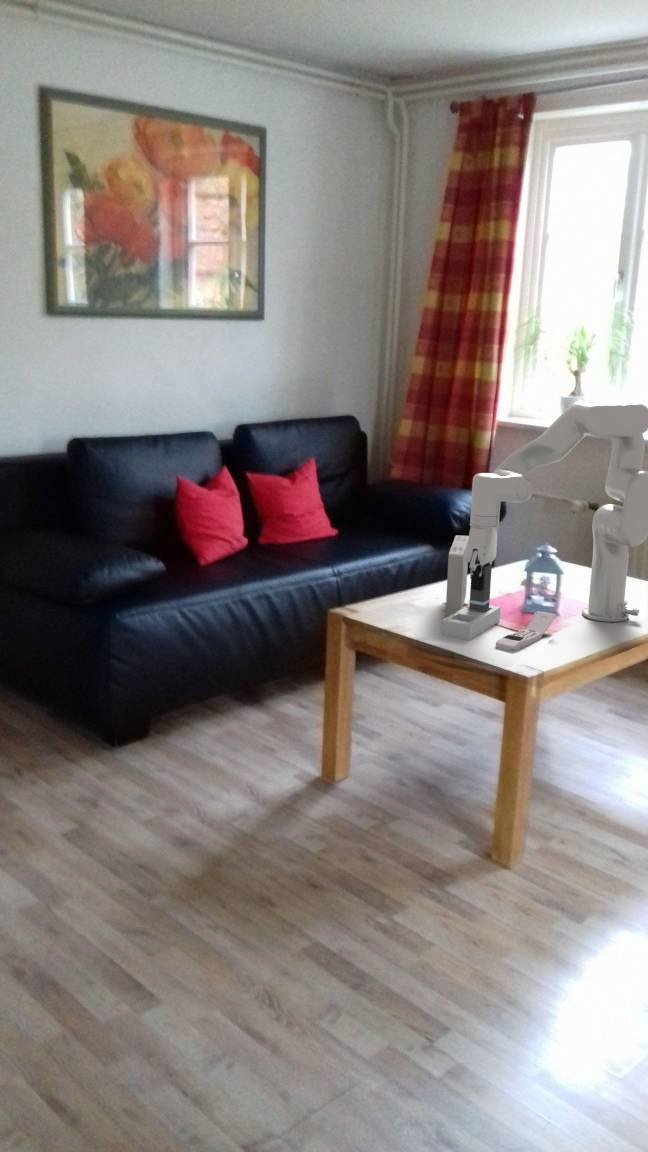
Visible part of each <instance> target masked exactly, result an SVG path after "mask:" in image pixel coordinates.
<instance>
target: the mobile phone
mask: <svg viewBox="0 0 648 1152" xmlns="http://www.w3.org/2000/svg"><path fill="white" fill-rule="evenodd" d="M556 617H557V614H556V613H551V612H546V611H540V610H536V611H535V612H534V614H533V615H532V618H531V619H530V620H529V621H528V624H527V625H526V626H525V628H523V629H521V630H519V631H516V632H514V633H511V634H507V635H505V636H503V637H501V638H499V639H498V640H497V641H495V648H496V649H500V650H504V651H508V652H517V651H519V650H522V649H523V648H525V647H527V646H529V645H531V644H534V643H535V642H537V641H539V640H540V639H542V638H543V635H544V634H545V633H546V631H547V630H548V629H549V627H550V625H551V624H552V622H553V621H554V619H556Z"/></svg>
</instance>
